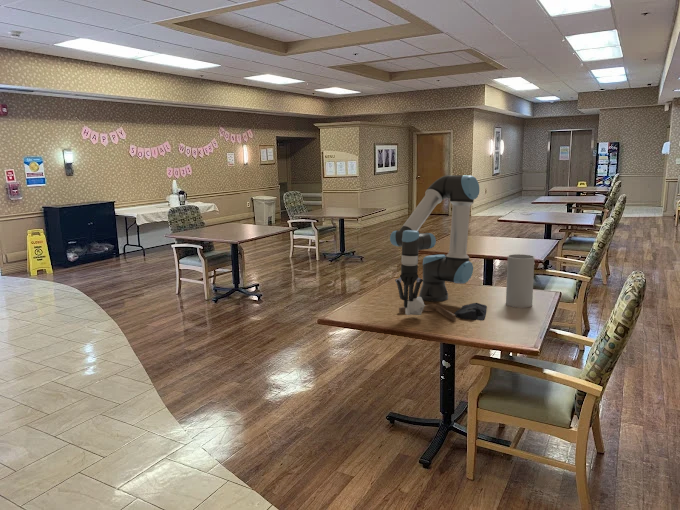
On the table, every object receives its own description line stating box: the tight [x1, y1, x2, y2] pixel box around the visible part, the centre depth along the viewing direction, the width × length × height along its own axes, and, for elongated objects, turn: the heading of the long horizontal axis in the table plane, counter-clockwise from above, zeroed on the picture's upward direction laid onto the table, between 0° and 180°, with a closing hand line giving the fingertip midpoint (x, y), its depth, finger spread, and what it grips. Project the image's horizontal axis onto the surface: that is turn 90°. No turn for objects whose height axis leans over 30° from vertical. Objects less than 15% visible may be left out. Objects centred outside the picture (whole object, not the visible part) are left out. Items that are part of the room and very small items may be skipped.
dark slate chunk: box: [453, 302, 488, 321], centre depth 248 cm, size 15×22×5 cm
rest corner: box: [398, 303, 457, 322], centre depth 243 cm, size 20×20×3 cm
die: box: [408, 296, 426, 316], centre depth 241 cm, size 8×9×10 cm
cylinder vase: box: [505, 253, 535, 309], centre depth 258 cm, size 12×12×25 cm
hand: (407, 314), depth 241 cm, fingers closed
